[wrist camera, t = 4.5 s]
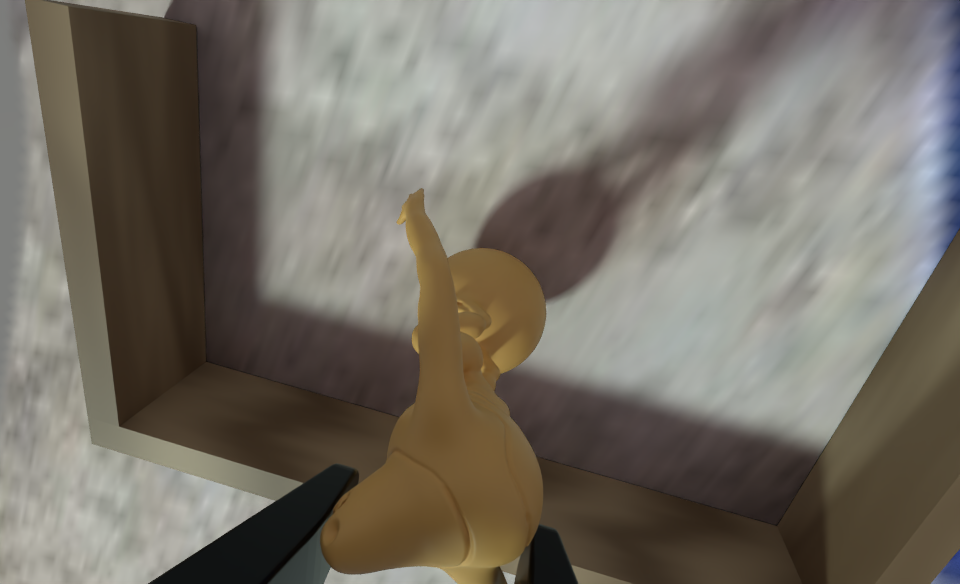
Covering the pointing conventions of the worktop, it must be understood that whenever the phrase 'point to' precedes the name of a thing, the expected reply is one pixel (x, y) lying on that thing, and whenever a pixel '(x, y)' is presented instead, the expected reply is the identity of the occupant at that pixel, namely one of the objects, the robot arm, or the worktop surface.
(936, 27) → the worktop surface
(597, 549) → the three-sided wooden wall
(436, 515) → the figurine
